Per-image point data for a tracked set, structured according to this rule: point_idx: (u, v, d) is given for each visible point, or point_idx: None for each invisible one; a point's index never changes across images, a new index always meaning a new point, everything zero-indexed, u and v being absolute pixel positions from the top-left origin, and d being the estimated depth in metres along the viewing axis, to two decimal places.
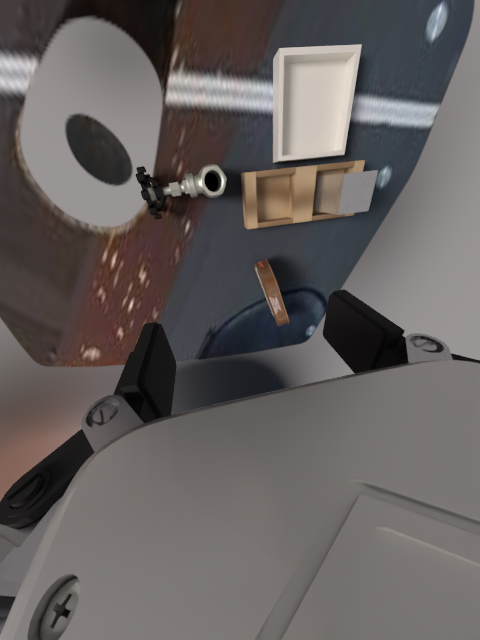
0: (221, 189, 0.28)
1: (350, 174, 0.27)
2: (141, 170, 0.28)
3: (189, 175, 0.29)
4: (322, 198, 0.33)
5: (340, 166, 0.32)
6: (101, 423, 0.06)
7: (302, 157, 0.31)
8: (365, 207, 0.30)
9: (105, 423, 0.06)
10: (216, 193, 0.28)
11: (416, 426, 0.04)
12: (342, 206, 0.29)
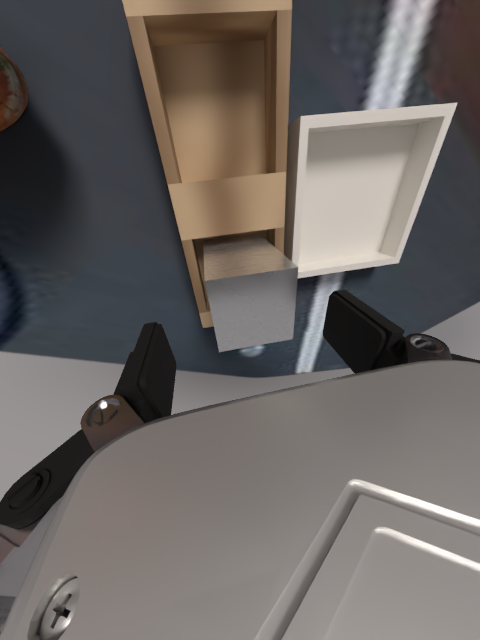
0: None
1: (294, 283, 0.11)
2: None
3: None
4: (230, 250, 0.14)
5: None
6: (101, 423, 0.06)
7: (298, 190, 0.15)
8: (225, 343, 0.13)
9: (105, 423, 0.06)
10: None
11: (416, 426, 0.04)
12: (227, 286, 0.11)
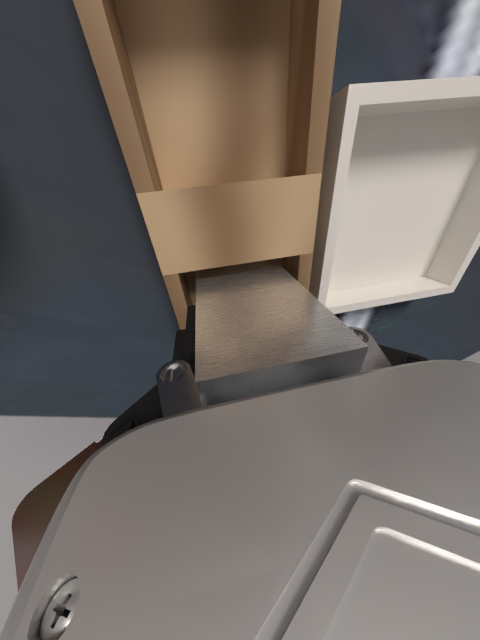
0: None
1: (356, 368, 0.06)
2: None
3: None
4: (237, 291, 0.09)
5: None
6: (170, 381, 0.07)
7: (335, 200, 0.10)
8: None
9: (172, 382, 0.07)
10: None
11: (416, 426, 0.04)
12: (238, 384, 0.06)
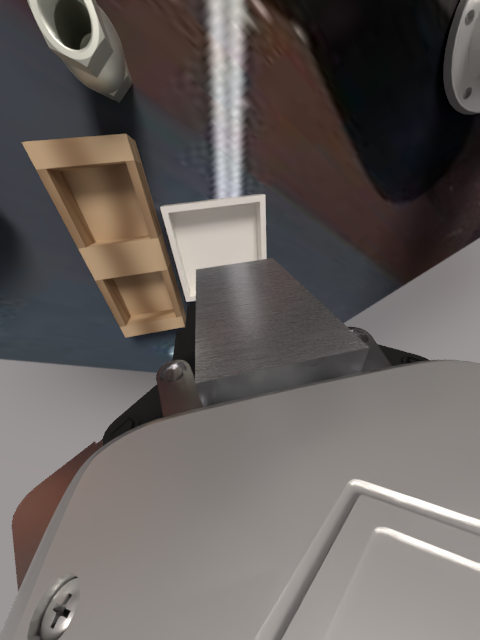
0: (56, 42, 0.12)
1: (357, 369, 0.06)
2: None
3: None
4: (237, 292, 0.09)
5: (173, 301, 0.25)
6: (170, 380, 0.07)
7: (172, 246, 0.22)
8: None
9: (172, 382, 0.07)
10: (39, 20, 0.11)
11: (416, 426, 0.04)
12: (238, 386, 0.06)
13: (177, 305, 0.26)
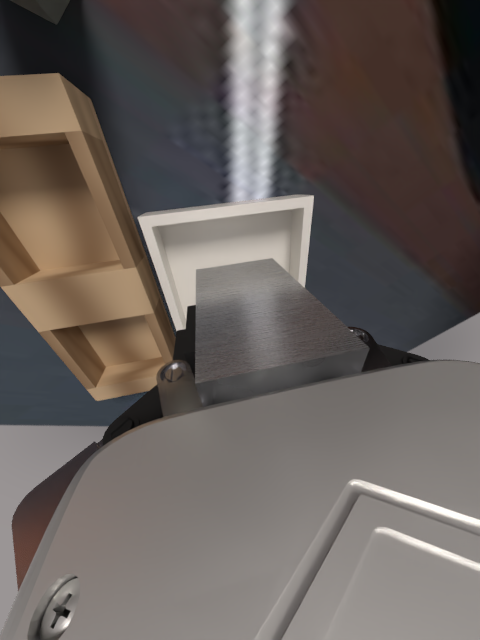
0: None
1: (357, 370, 0.06)
2: None
3: None
4: (237, 292, 0.09)
5: (163, 354, 0.17)
6: (170, 380, 0.07)
7: (161, 279, 0.14)
8: None
9: (172, 382, 0.07)
10: None
11: (416, 426, 0.04)
12: (238, 386, 0.06)
13: (170, 359, 0.18)
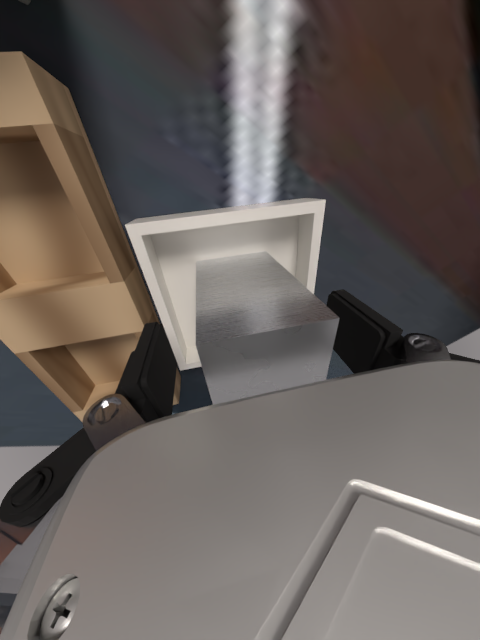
0: None
1: (331, 338, 0.07)
2: None
3: None
4: (232, 279, 0.11)
5: None
6: (102, 422, 0.06)
7: (153, 293, 0.12)
8: None
9: (106, 422, 0.06)
10: None
11: (416, 426, 0.04)
12: (231, 348, 0.07)
13: None
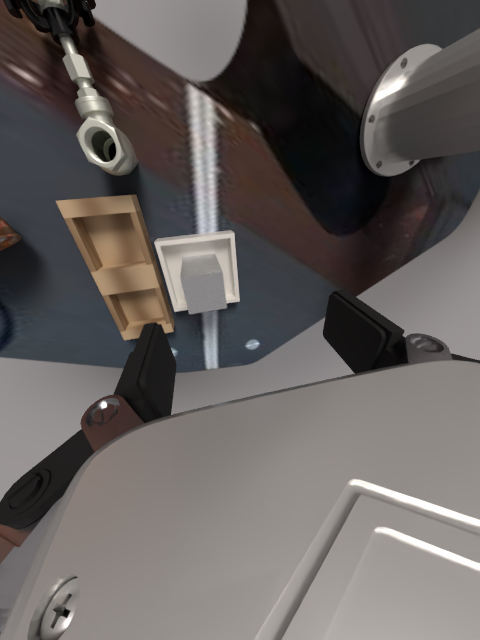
0: (93, 159, 0.19)
1: (222, 279, 0.24)
2: None
3: (106, 105, 0.19)
4: (195, 263, 0.28)
5: (163, 311, 0.32)
6: (101, 423, 0.06)
7: (163, 270, 0.29)
8: (192, 309, 0.26)
9: (105, 423, 0.06)
10: (84, 148, 0.18)
11: (416, 426, 0.04)
12: (190, 280, 0.24)
13: (167, 314, 0.32)
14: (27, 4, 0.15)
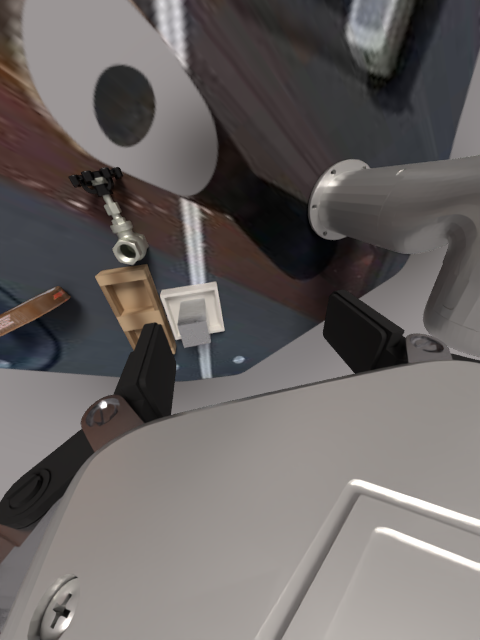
0: (122, 260, 0.30)
1: (206, 325, 0.35)
2: (117, 173, 0.27)
3: (129, 226, 0.30)
4: (189, 309, 0.39)
5: None
6: (101, 423, 0.06)
7: (166, 312, 0.40)
8: (186, 344, 0.37)
9: (105, 423, 0.06)
10: (116, 255, 0.30)
11: (416, 426, 0.04)
12: (184, 327, 0.35)
13: (170, 342, 0.44)
14: (85, 185, 0.26)
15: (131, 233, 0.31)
